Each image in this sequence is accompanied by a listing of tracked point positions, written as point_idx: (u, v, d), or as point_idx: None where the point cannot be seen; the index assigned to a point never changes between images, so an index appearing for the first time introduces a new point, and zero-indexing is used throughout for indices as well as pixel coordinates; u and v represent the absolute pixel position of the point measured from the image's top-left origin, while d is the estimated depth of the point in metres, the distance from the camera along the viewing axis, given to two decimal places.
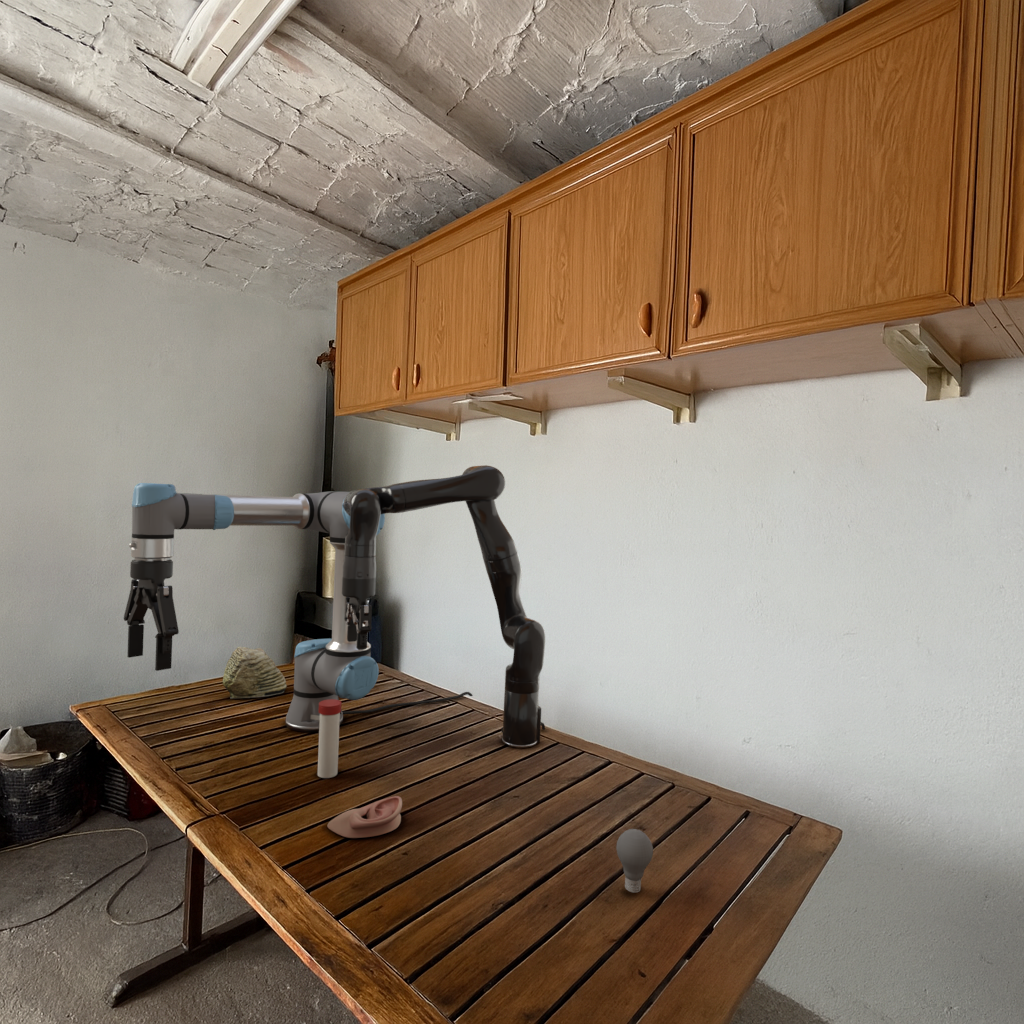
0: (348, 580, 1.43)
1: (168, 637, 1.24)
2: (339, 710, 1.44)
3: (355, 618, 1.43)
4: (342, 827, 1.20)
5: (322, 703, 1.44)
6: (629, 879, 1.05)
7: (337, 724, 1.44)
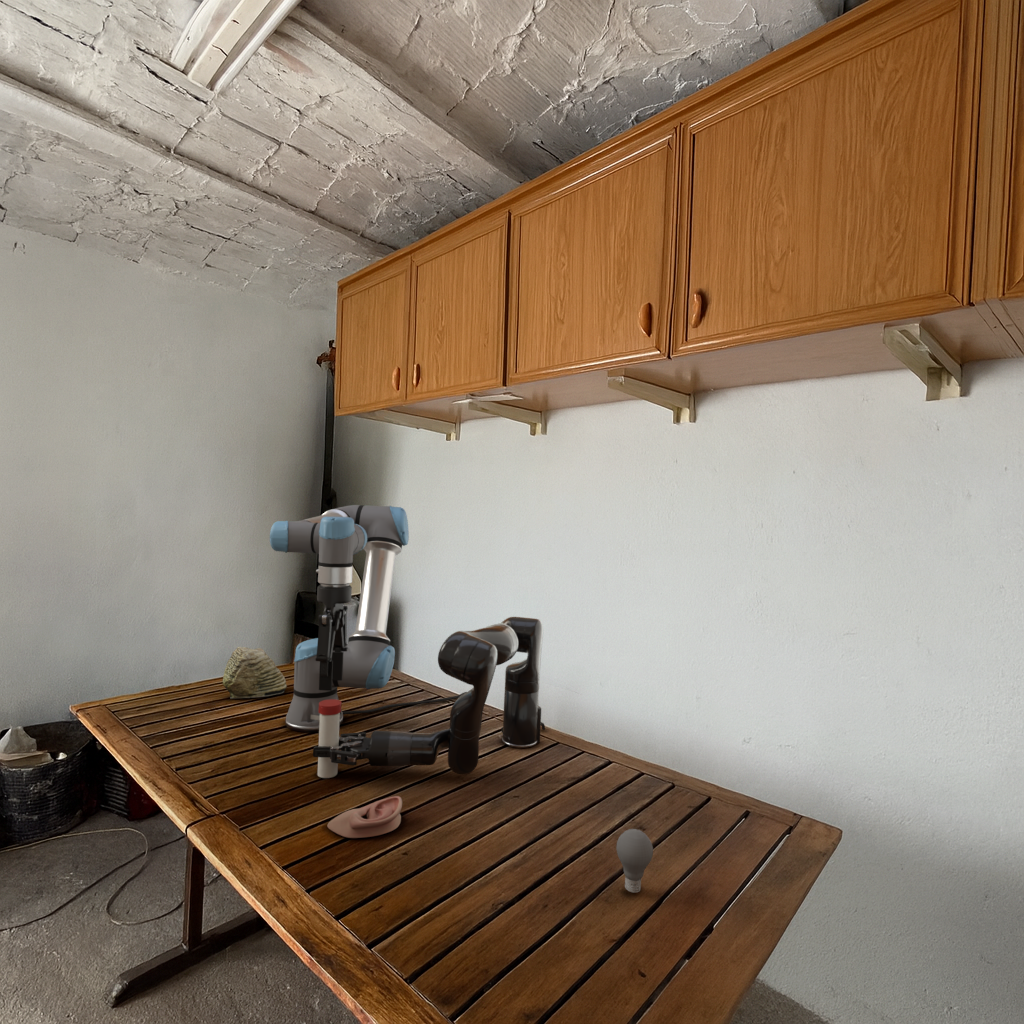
0: None
1: (324, 662, 1.39)
2: (339, 710, 1.44)
3: None
4: (342, 827, 1.20)
5: (322, 703, 1.44)
6: (629, 879, 1.05)
7: (337, 724, 1.44)
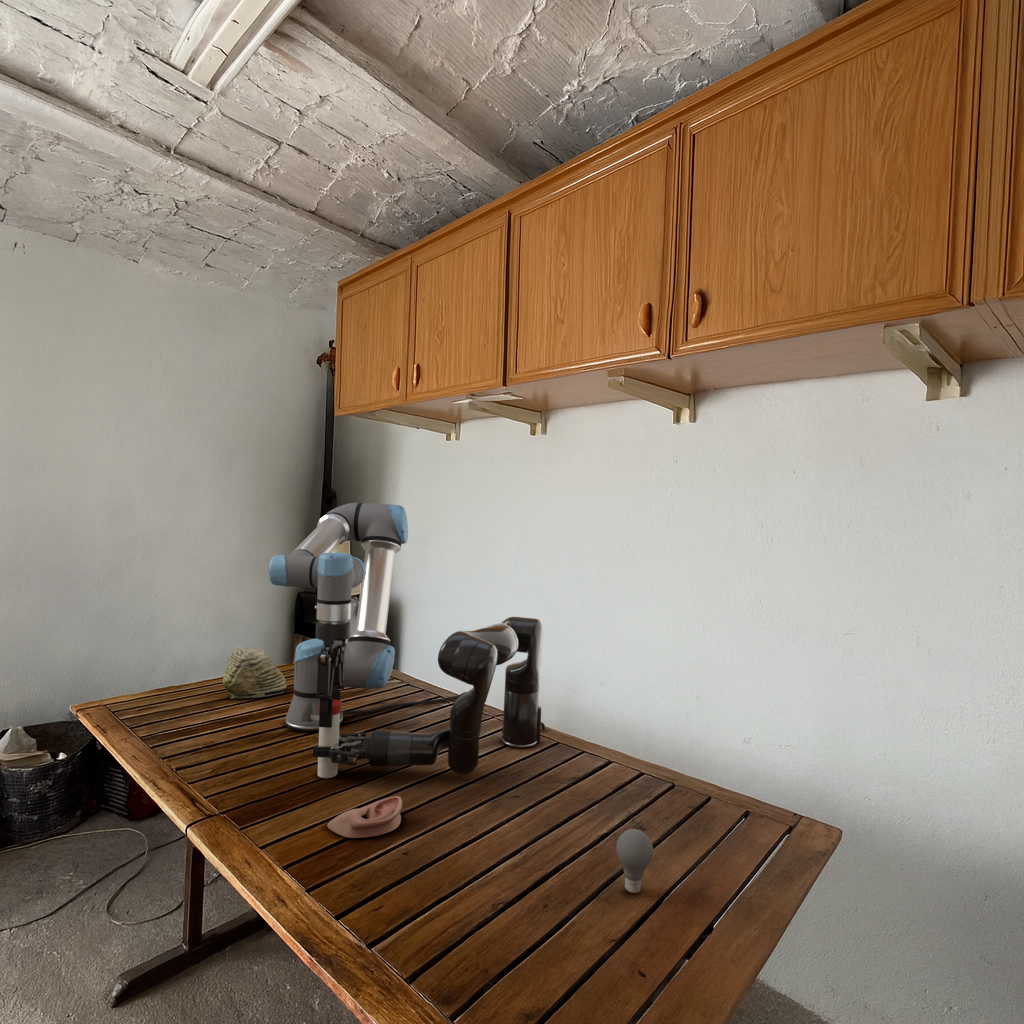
0: None
1: (324, 699, 1.40)
2: (339, 710, 1.44)
3: None
4: (342, 827, 1.20)
5: None
6: (629, 879, 1.05)
7: (337, 724, 1.44)
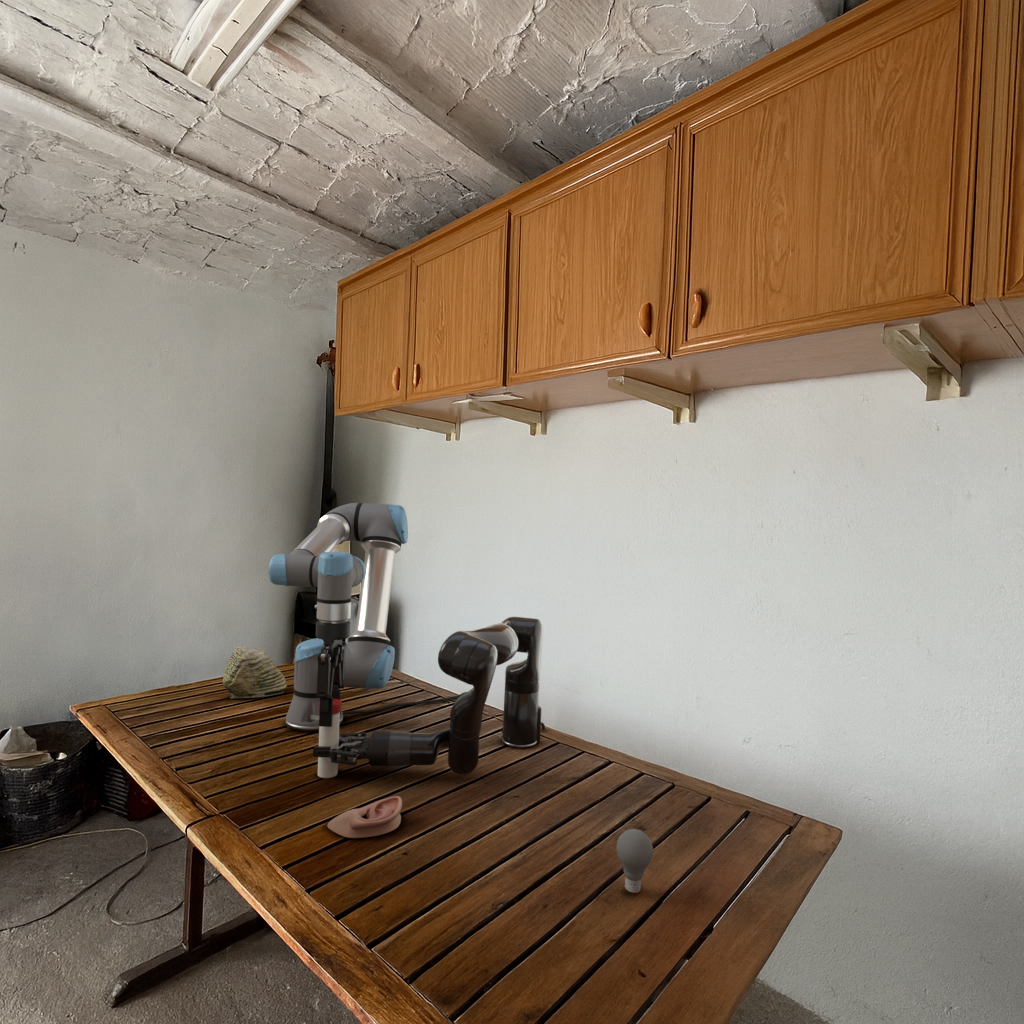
0: None
1: (324, 699, 1.40)
2: None
3: None
4: (342, 827, 1.20)
5: None
6: (629, 879, 1.05)
7: (337, 724, 1.44)
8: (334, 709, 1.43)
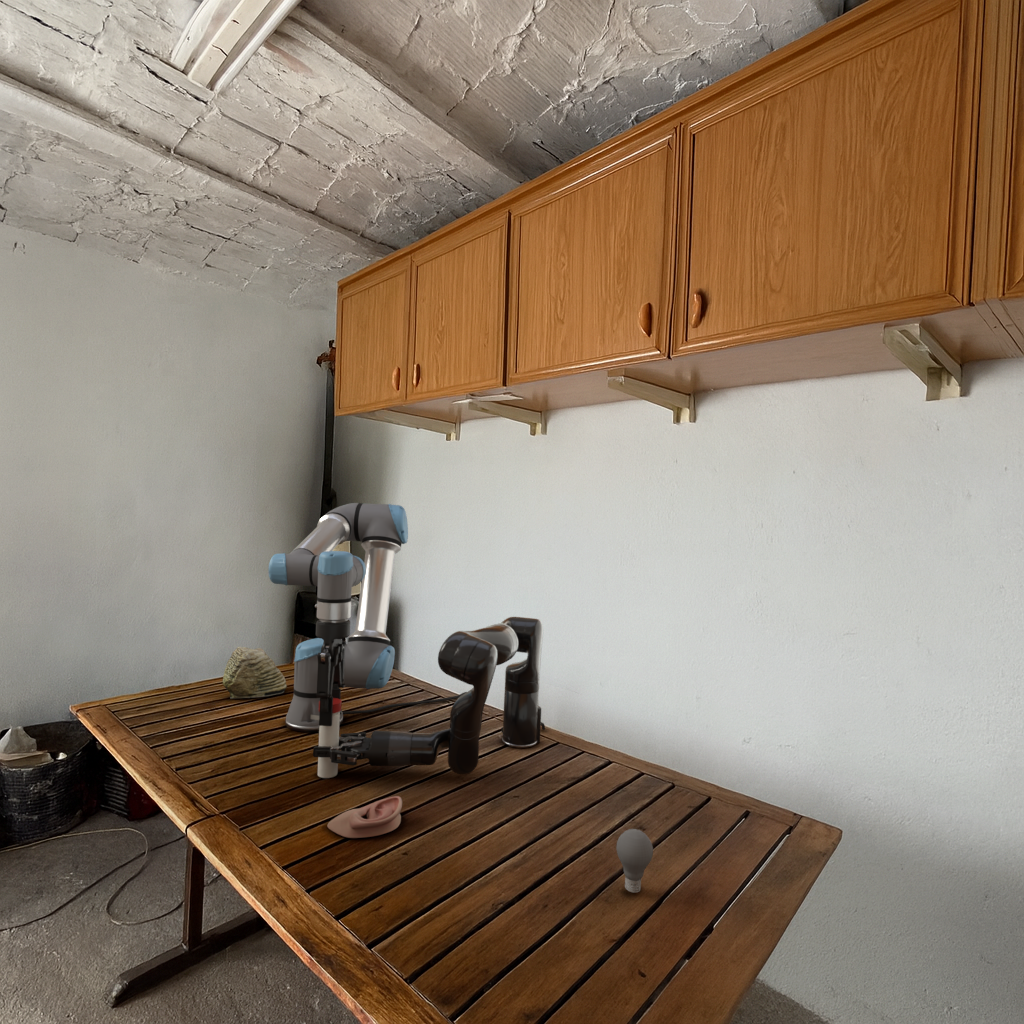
0: None
1: (324, 698, 1.40)
2: None
3: None
4: (342, 827, 1.20)
5: (337, 700, 1.45)
6: (629, 879, 1.05)
7: (337, 724, 1.44)
8: None
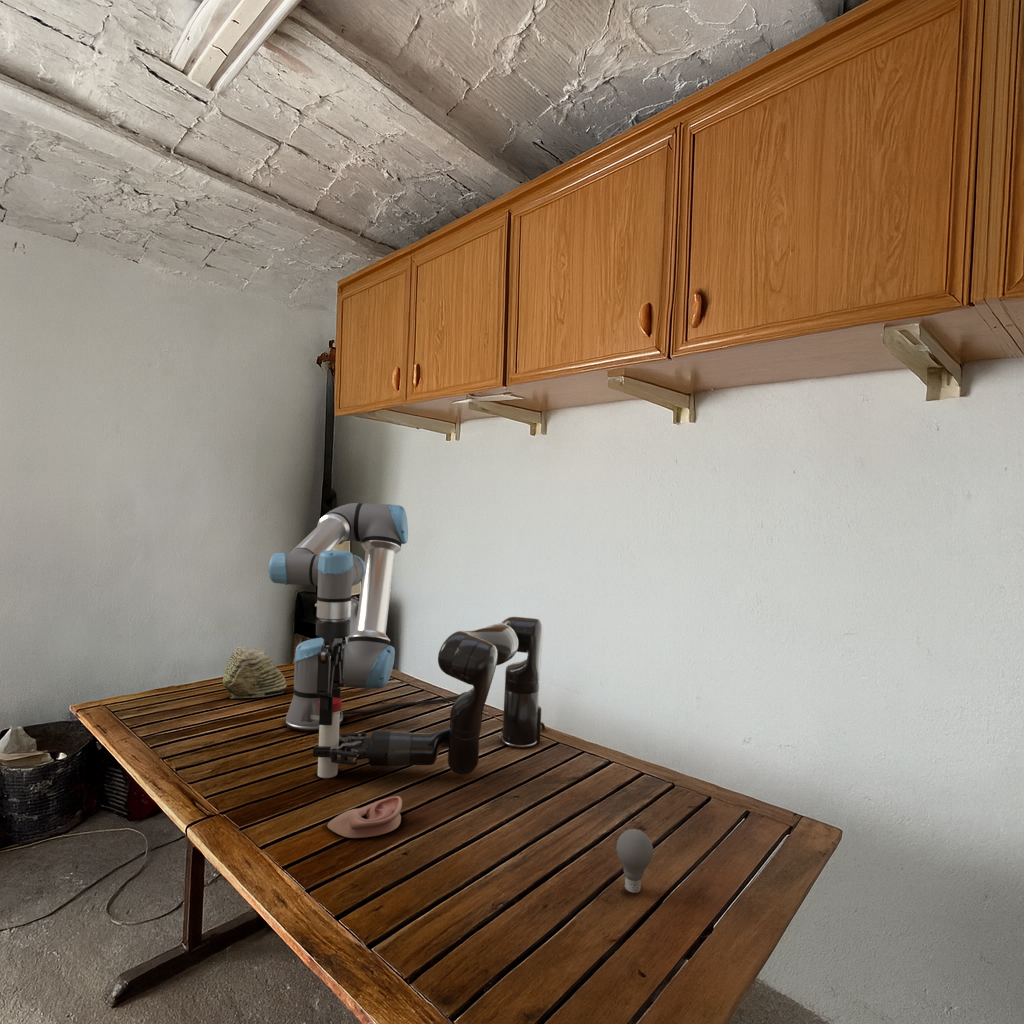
0: None
1: (324, 697, 1.40)
2: None
3: None
4: (342, 827, 1.20)
5: None
6: (629, 879, 1.05)
7: (337, 724, 1.44)
8: None
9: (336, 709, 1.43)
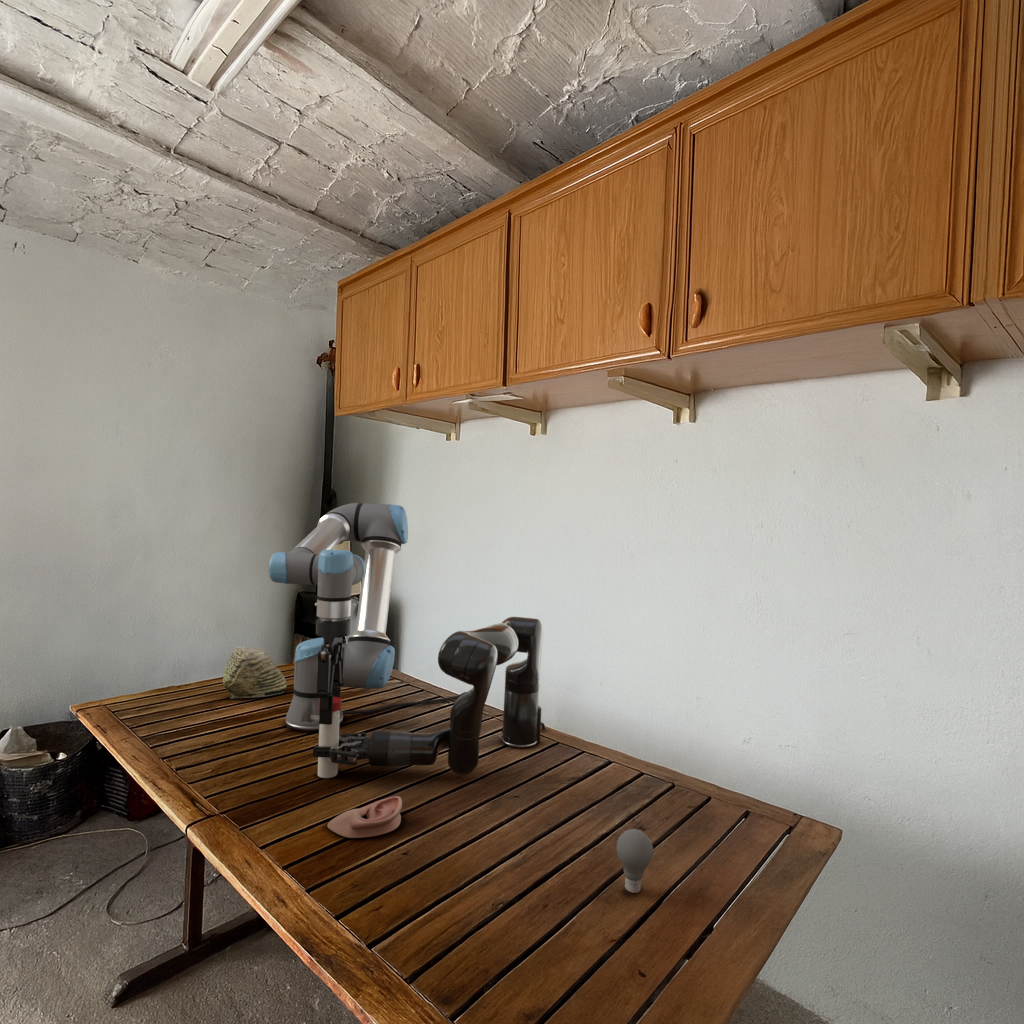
0: None
1: (324, 697, 1.40)
2: (340, 706, 1.44)
3: None
4: (342, 827, 1.20)
5: None
6: (629, 879, 1.05)
7: (337, 724, 1.44)
8: None
9: None
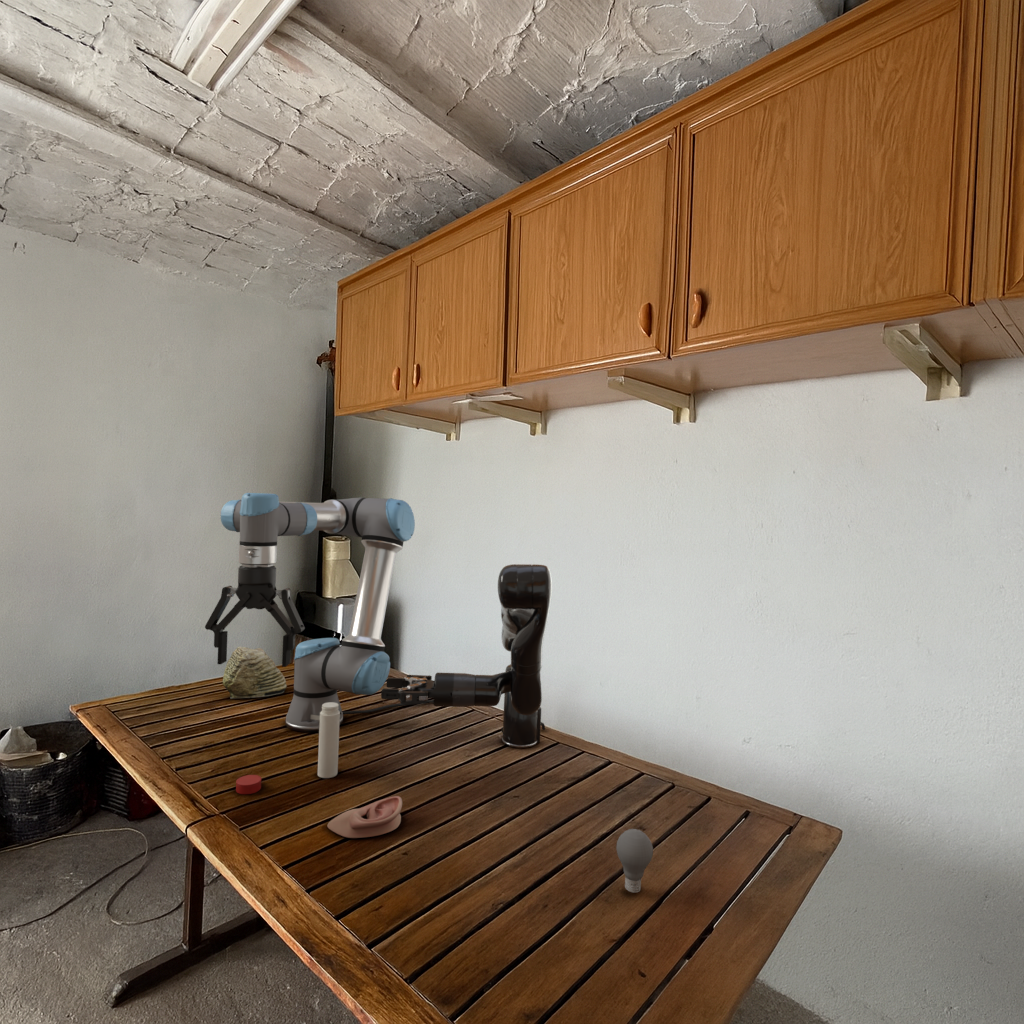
0: None
1: (295, 634, 1.36)
2: None
3: None
4: (342, 827, 1.20)
5: (251, 782, 1.34)
6: (629, 879, 1.05)
7: (337, 724, 1.44)
8: (254, 788, 1.34)
9: None
